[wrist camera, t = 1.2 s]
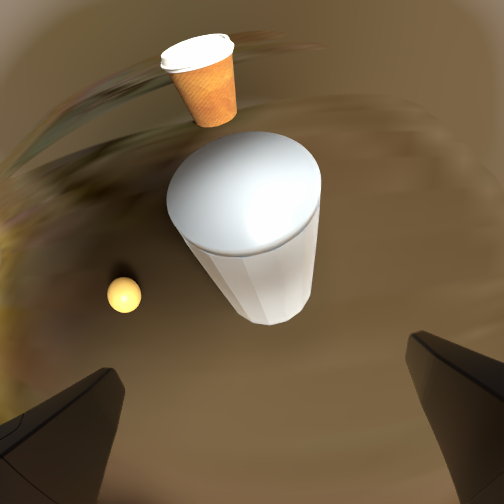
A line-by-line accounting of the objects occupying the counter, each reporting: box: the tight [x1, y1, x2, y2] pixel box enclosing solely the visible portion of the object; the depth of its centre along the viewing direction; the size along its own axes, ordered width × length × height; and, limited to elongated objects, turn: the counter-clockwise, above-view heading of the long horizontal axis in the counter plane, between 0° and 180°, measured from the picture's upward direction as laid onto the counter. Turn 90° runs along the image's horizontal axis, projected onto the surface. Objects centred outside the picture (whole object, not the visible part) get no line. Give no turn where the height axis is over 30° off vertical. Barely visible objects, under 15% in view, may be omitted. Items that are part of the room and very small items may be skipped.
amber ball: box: [107, 277, 141, 313], centre depth 22 cm, size 3×3×3 cm
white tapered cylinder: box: [167, 132, 321, 325], centre depth 17 cm, size 7×7×12 cm
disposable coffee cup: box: [161, 34, 237, 127], centre depth 31 cm, size 10×10×12 cm
